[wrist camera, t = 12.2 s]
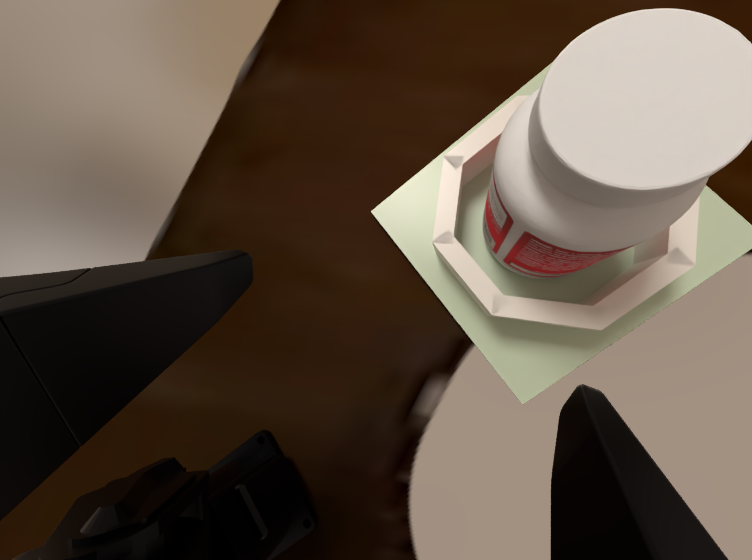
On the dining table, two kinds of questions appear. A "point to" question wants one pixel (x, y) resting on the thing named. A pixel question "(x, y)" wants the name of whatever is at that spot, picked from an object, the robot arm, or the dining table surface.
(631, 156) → the pill bottle
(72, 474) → the dining table surface
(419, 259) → the octagonal tray
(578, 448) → the robot arm
